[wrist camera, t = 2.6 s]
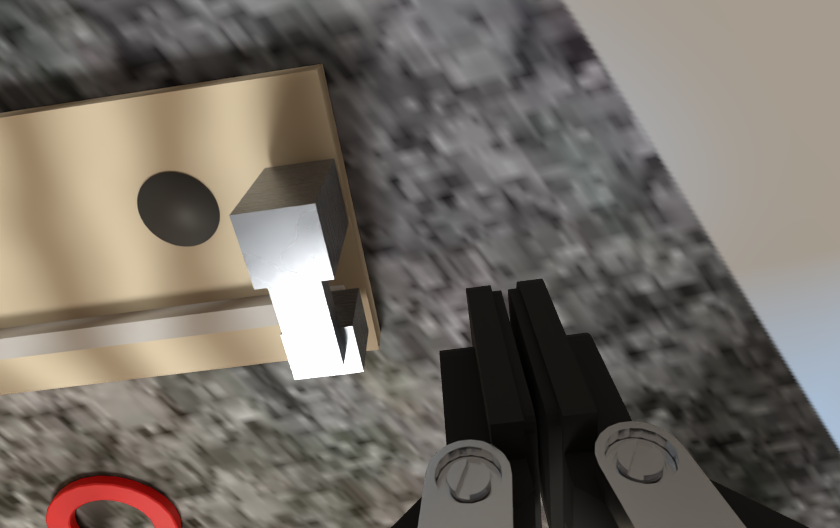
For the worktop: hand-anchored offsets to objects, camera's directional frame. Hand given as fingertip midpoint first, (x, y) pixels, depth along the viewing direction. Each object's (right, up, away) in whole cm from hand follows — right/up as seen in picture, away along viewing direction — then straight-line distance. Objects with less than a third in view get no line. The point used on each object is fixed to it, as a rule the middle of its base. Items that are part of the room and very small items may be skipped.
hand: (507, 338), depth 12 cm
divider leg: (-6, +2, +13) cm, 15 cm away
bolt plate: (-18, +2, +15) cm, 24 cm away
